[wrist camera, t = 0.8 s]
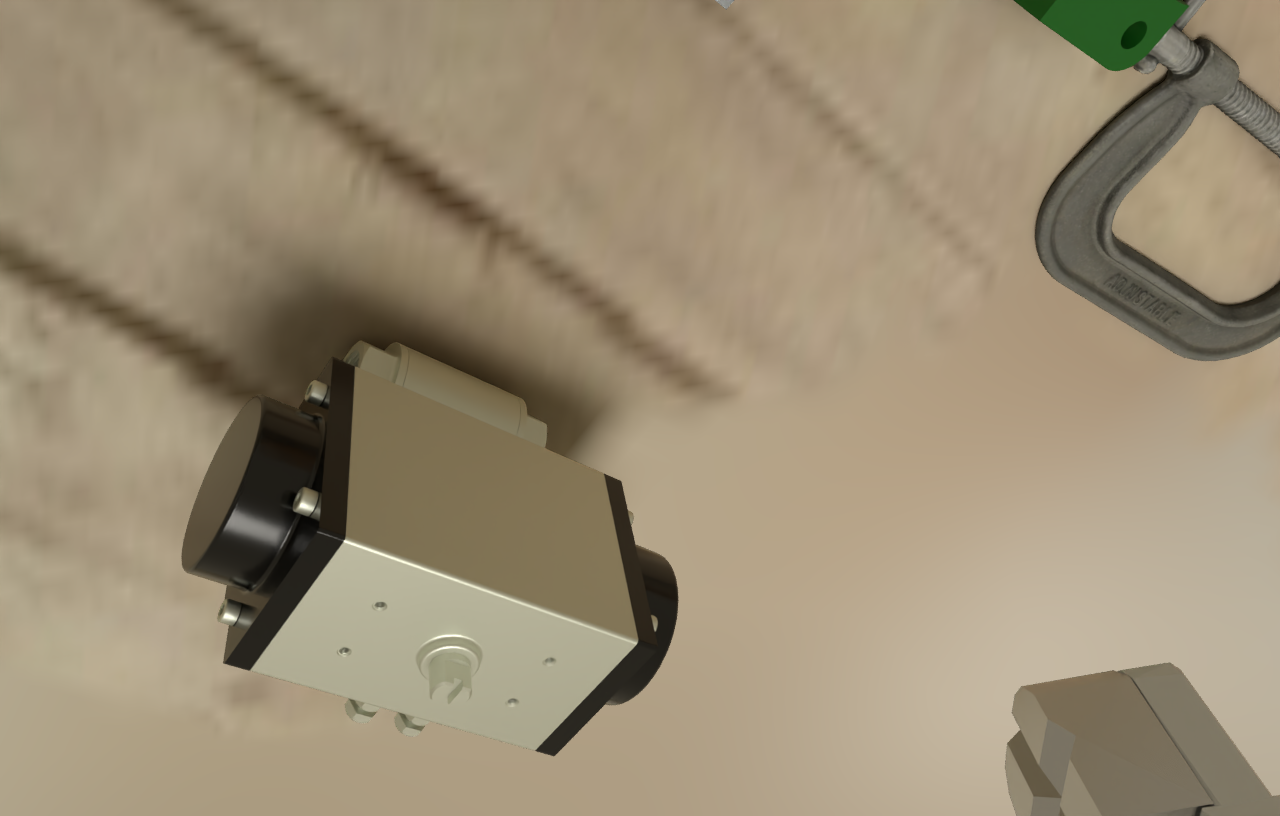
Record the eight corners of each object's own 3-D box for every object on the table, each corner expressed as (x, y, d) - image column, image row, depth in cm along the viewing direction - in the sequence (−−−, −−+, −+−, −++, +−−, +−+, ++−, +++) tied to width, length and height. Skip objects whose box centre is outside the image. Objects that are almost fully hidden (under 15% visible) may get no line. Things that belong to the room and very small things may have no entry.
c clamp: (955, 195, 52) (978, 224, 50) (1278, -131, 45) (1321, -113, 43) (1188, 385, 62) (1216, 416, 60) (1482, 142, 55) (1525, 168, 53)
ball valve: (206, 386, 51) (133, 712, 37) (290, 242, 47) (245, 545, 33) (543, 519, 59) (585, 825, 46) (637, 406, 56) (714, 702, 42)
